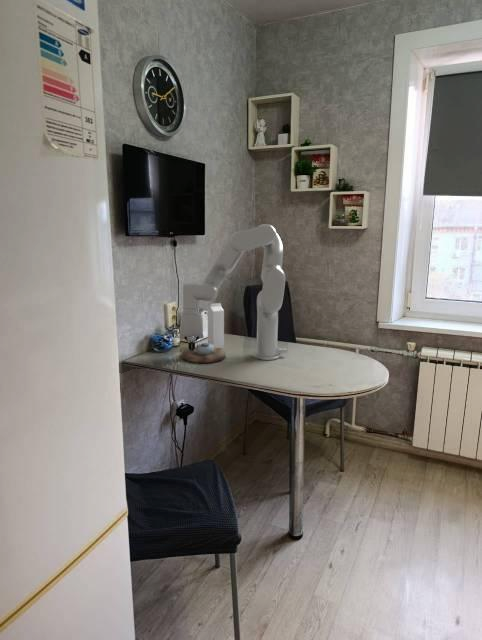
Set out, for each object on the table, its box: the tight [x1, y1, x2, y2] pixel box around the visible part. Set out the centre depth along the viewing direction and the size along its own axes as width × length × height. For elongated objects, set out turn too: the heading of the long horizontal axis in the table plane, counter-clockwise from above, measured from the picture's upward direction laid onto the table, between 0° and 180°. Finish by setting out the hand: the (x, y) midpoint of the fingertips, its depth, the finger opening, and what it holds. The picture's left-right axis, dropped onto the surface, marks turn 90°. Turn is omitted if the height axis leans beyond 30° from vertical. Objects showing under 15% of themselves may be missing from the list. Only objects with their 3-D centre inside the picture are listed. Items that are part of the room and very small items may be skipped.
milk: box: [207, 302, 225, 349], centre depth 214 cm, size 6×6×22 cm
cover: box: [195, 342, 214, 355], centre depth 198 cm, size 8×8×4 cm
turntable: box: [181, 346, 227, 364], centre depth 199 cm, size 20×20×2 cm
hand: (191, 350), depth 198 cm, fingers closed
